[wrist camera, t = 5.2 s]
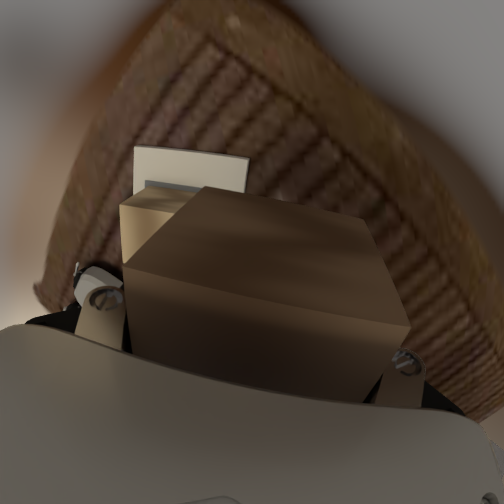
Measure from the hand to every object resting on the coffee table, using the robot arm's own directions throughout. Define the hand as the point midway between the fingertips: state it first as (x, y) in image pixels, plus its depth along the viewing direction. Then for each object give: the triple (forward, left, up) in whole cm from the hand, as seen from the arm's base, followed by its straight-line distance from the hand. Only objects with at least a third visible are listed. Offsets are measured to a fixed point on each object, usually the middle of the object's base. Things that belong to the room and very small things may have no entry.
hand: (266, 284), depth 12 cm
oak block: (+11, +6, -18) cm, 22 cm away
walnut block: (0, 0, -1) cm, 1 cm away
